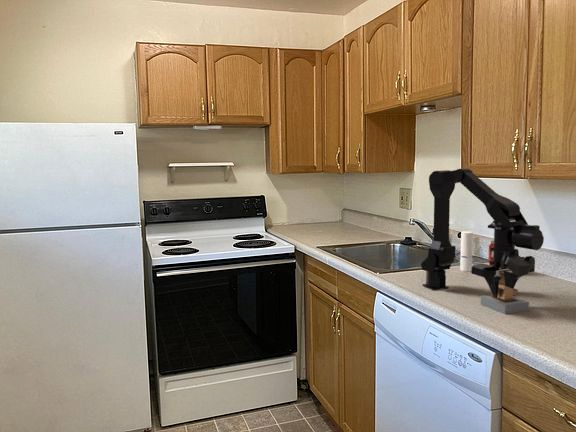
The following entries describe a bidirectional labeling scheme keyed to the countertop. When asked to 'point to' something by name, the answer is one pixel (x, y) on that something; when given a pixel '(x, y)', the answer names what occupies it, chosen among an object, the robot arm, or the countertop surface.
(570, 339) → the countertop surface
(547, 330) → the countertop surface
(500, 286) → the orange tan block
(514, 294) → the knob
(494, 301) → the grey u-shaped frame
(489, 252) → the soda can
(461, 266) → the tube
